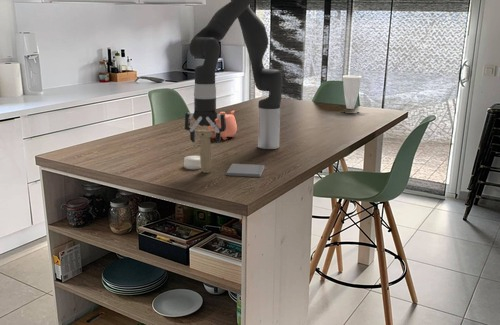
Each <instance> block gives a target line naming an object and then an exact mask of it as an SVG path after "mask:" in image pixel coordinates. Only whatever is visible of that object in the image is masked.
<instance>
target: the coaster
mask: <svg viewBox="0 0 500 325" xmlns="http://www.w3.org/2000/svg"><path fill="white" fill-rule="evenodd" d="M264 169H265V164H262V165H261V164H247V163H232V164H231V165H230V166H229V168H228V170H227V171H226V172H225V174H226V176H228V177H229V176H233V177H249V178H250V177H251V178H252V177H253V178H254V177H255V178H261V177H262V174H263V172H264Z"/></svg>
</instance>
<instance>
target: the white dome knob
mask: <svg viewBox="0 0 500 325" xmlns="http://www.w3.org/2000/svg"><path fill="white" fill-rule="evenodd" d="M183 161H184V163H183V164H184V165H183V167H184V169H187V170H200V169H201V168H202V167H201V161H200V155H187V156H185V157H184V160H183Z"/></svg>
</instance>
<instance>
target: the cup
mask: <svg viewBox="0 0 500 325" xmlns="http://www.w3.org/2000/svg"><path fill="white" fill-rule="evenodd" d="M362 78H363V77H362V75H356V74H355V75H353V74H351V75H350V74H347V75H343V76H342V84H343V95H344V102H345V107H346V110H354V109H355V107H356V104H357V100H358V96H359V92H360V88H361V81H362Z"/></svg>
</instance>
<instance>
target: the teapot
mask: <svg viewBox="0 0 500 325" xmlns="http://www.w3.org/2000/svg"><path fill="white" fill-rule="evenodd" d="M235 111H236V110H232V111H230V113H228V114H227V113H226V112H225V111H220V112H219V113H218V114H223V113H224V114H225V121H226V130H225V131H223V132H221V140H222V139H223V140H224V141H227V140H228V138H230V137H232V138H234V135H236V133H237V131H238V126H237V122H236V118H235V115H234V114H235ZM215 122H216V123H217V124H218V126H219V128H221V120H219V118H218V117H217V118H216V120H215ZM212 125H213V124H212ZM207 130H214V128H212V126H211V125H210V126H207ZM214 131H215V130H214ZM216 133H217V132H216V131H215V134H214V135H213V136H212V137H211V139H216ZM226 139H227V140H226ZM223 140H222V141H223Z"/></svg>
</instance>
